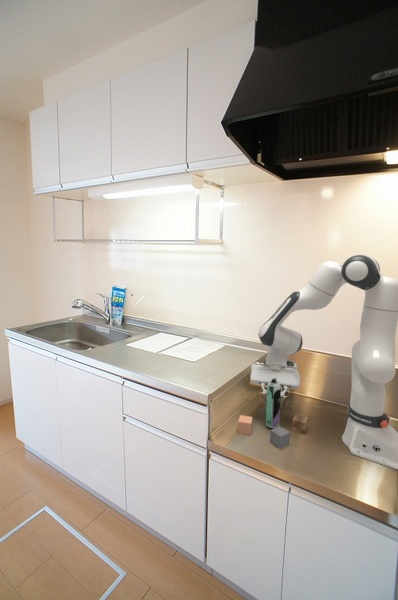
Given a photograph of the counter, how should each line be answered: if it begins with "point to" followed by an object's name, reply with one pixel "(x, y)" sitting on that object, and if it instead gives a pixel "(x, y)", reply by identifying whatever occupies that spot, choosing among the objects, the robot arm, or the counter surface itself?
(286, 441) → the charcoal block
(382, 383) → the robot arm
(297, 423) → the walnut block
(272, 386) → the spray can
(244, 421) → the terracotta block
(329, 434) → the counter surface
